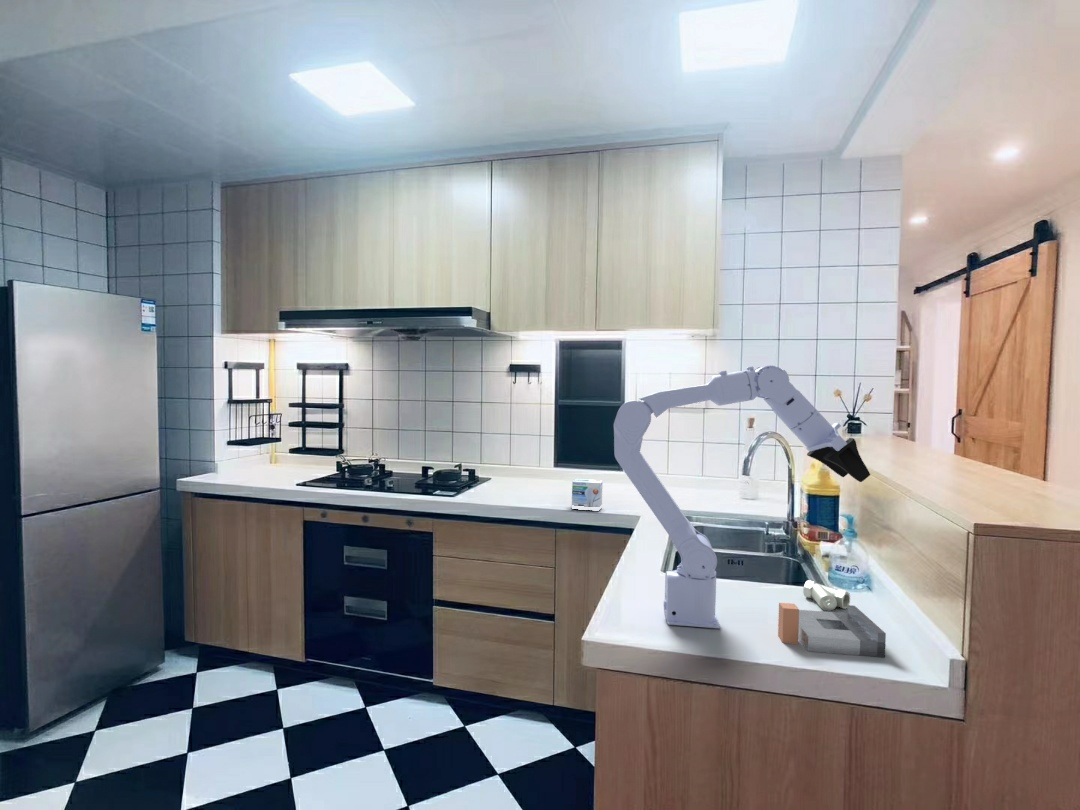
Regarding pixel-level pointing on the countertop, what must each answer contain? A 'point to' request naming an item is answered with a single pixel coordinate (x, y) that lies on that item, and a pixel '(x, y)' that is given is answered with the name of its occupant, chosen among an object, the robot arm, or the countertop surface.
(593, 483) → the light bulb box
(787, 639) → the pin
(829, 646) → the grey square base
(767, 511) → the countertop surface
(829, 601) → the pipe fitting
